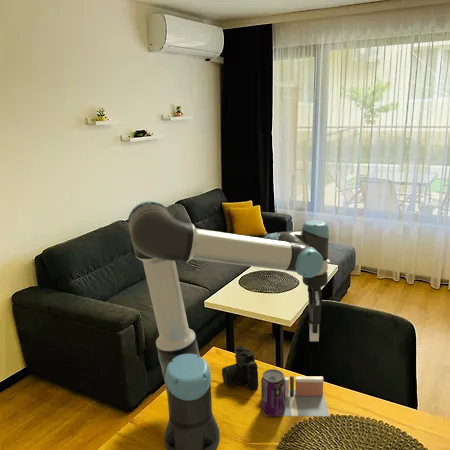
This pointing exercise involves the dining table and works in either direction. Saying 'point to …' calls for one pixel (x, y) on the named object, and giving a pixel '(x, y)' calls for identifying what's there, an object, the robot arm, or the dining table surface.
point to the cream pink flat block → (309, 386)
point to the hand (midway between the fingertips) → (314, 340)
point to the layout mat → (305, 406)
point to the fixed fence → (290, 386)
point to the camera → (242, 370)
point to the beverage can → (273, 392)
